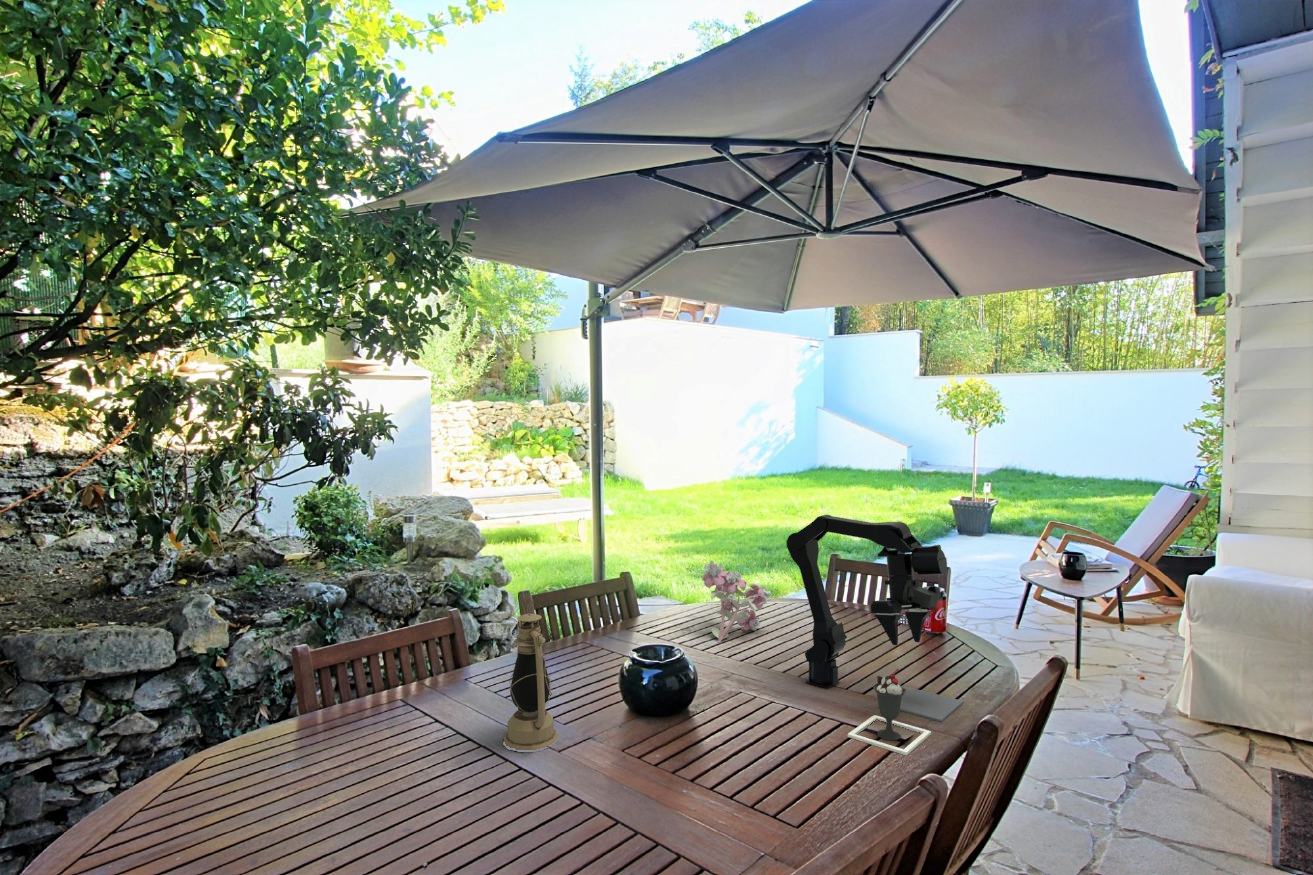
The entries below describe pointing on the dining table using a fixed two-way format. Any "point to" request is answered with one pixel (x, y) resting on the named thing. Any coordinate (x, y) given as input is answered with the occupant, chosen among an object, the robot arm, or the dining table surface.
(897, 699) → the sundae
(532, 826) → the dining table surface
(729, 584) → the flower
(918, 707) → the mat
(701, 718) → the dining table surface
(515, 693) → the lantern
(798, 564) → the robot arm
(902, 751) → the stand rim
